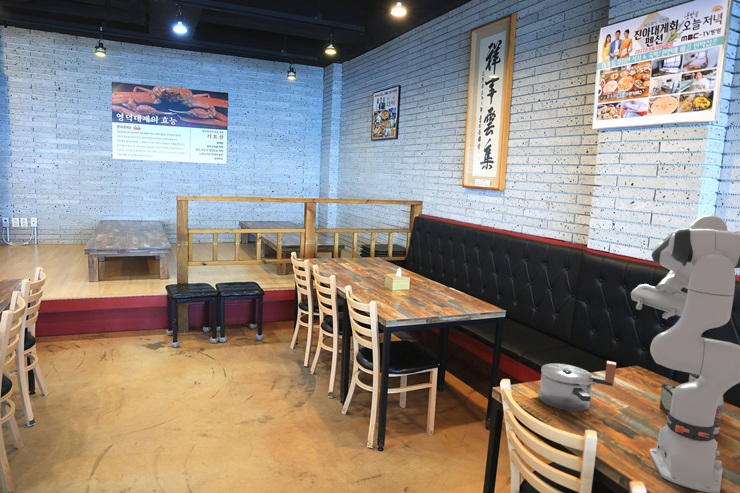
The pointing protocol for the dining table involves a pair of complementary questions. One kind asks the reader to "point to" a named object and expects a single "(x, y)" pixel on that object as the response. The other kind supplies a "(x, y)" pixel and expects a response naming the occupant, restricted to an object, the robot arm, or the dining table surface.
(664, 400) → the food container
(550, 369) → the lid
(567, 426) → the dining table surface
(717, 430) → the milk bottle
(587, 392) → the cooker pot
